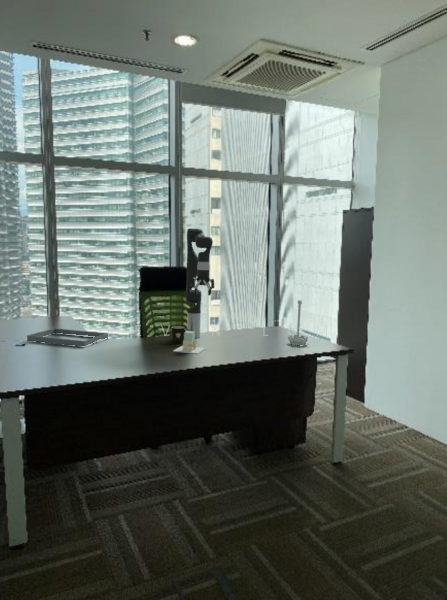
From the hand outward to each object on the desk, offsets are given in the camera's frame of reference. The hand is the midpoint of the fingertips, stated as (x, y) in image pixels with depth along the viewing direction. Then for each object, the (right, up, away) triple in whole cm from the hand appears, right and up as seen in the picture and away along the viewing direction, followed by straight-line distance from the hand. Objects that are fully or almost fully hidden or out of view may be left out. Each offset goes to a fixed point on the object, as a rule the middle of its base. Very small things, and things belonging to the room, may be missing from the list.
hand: (202, 294), depth 279 cm
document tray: (-88, -30, +12) cm, 94 cm away
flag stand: (+63, -33, +22) cm, 75 cm away
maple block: (-8, -34, -6) cm, 35 cm away
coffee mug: (-16, -32, +16) cm, 39 cm away
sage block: (-8, -28, -7) cm, 29 cm away
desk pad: (-8, -34, -5) cm, 35 cm away
